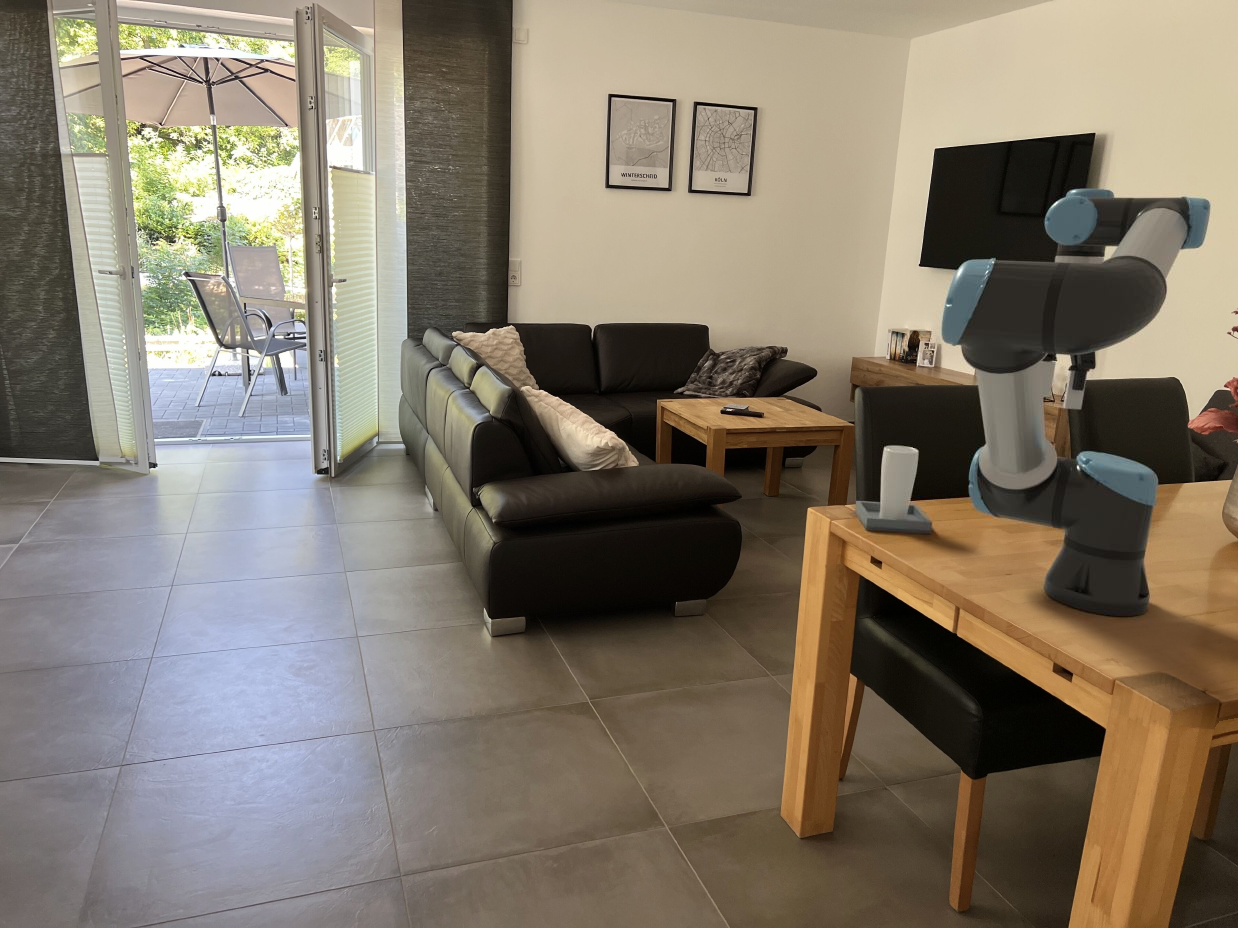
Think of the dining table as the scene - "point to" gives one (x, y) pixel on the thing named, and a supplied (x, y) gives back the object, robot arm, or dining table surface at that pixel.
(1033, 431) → the robot arm
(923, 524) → the tray
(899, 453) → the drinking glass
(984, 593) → the dining table surface
